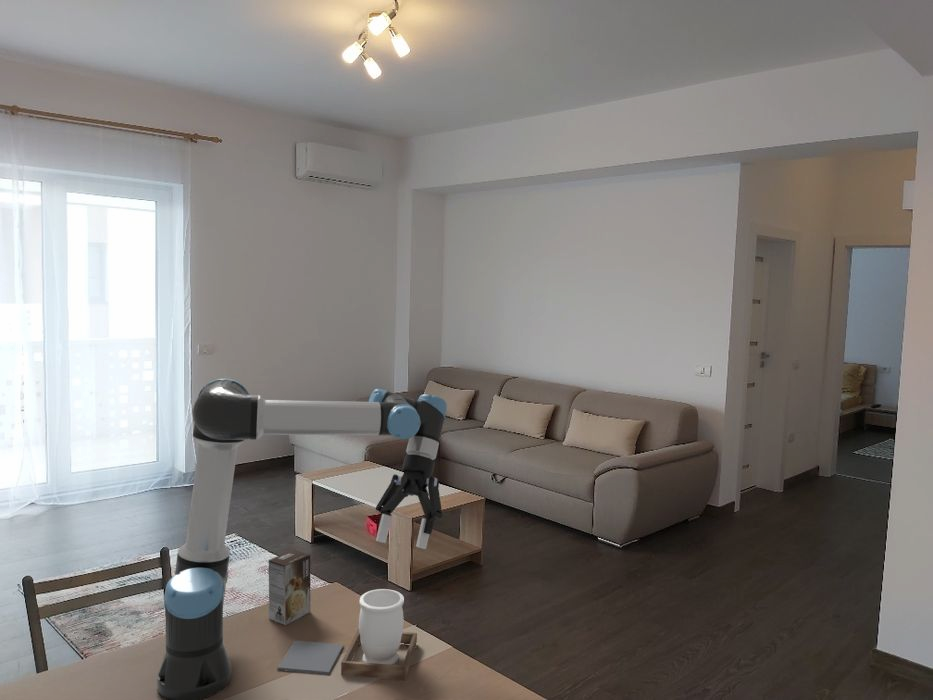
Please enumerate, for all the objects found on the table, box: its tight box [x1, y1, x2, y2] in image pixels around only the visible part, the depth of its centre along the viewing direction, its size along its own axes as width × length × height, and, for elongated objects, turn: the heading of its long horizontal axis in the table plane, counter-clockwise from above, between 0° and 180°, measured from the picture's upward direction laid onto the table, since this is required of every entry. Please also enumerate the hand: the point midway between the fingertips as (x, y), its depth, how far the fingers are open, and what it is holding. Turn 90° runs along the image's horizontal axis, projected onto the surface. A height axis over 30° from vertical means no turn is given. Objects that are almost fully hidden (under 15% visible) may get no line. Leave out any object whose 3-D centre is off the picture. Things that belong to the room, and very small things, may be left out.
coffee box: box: [268, 549, 311, 626], centre depth 184 cm, size 9×6×16 cm
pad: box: [276, 640, 344, 675], centre depth 165 cm, size 12×12×1 cm
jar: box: [358, 588, 405, 665], centre depth 165 cm, size 11×10×15 cm
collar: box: [340, 627, 418, 682], centre depth 165 cm, size 15×16×3 cm
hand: (400, 545), depth 165 cm, fingers open, 13 cm apart
